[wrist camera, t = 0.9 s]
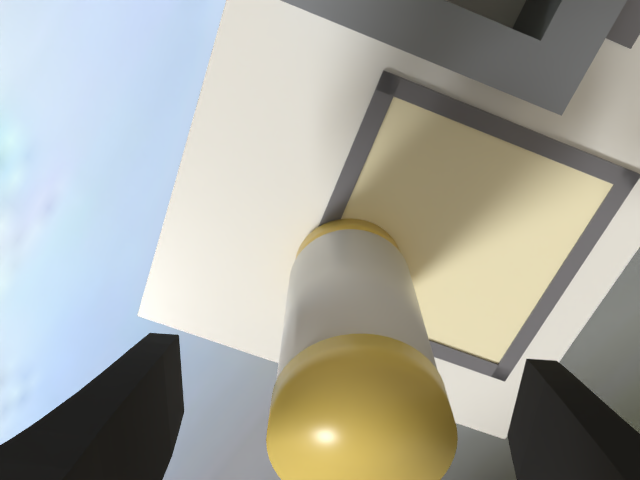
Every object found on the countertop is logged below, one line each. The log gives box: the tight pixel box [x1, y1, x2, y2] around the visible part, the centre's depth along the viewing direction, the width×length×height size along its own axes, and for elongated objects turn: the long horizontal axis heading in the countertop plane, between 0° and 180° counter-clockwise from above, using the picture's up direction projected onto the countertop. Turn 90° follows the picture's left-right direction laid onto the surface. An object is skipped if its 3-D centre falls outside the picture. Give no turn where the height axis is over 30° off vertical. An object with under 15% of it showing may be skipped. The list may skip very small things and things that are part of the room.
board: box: [137, 0, 640, 439], centre depth 15 cm, size 18×13×1 cm
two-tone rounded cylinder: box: [266, 218, 457, 480], centre depth 14 cm, size 4×4×7 cm
